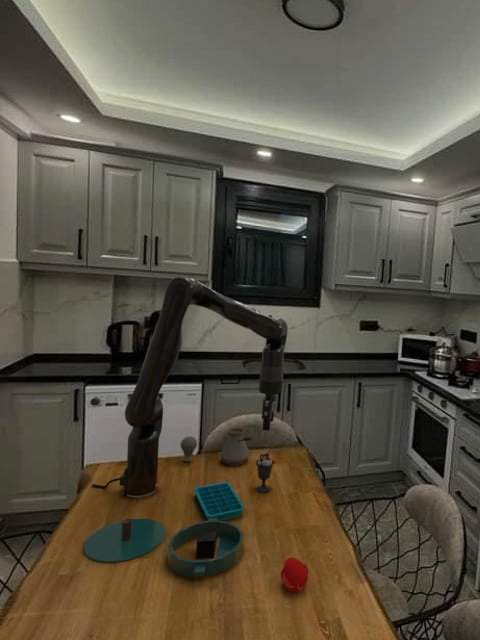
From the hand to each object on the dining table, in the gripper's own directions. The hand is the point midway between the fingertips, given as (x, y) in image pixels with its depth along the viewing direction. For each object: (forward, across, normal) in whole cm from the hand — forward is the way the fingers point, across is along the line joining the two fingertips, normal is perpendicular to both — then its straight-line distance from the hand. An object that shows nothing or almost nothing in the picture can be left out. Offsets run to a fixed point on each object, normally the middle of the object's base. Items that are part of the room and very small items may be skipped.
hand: (268, 425), depth 144 cm
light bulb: (+27, -30, -34) cm, 53 cm away
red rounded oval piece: (+27, +40, +14) cm, 50 cm away
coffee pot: (+27, -27, -14) cm, 41 cm away
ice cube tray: (+27, +4, -14) cm, 30 cm away
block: (+26, +29, -10) cm, 40 cm away
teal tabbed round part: (+27, +29, -10) cm, 41 cm away
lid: (+26, +24, -33) cm, 49 cm away
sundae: (+27, -9, -1) cm, 28 cm away
